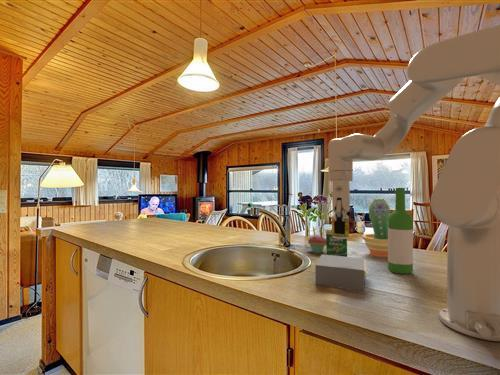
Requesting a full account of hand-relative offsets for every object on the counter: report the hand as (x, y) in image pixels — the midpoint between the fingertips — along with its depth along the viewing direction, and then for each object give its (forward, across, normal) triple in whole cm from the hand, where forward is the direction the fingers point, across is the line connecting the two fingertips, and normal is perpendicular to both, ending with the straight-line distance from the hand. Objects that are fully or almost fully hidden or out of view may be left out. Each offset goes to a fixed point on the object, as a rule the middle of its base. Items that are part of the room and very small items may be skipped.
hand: (340, 231), depth 87 cm
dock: (+16, 0, 0) cm, 16 cm away
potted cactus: (+16, +41, -14) cm, 46 cm away
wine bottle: (+16, +17, -19) cm, 30 cm away
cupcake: (+16, +36, +13) cm, 41 cm away
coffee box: (+16, +20, +3) cm, 26 cm away
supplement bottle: (+2, 0, 0) cm, 2 cm away
